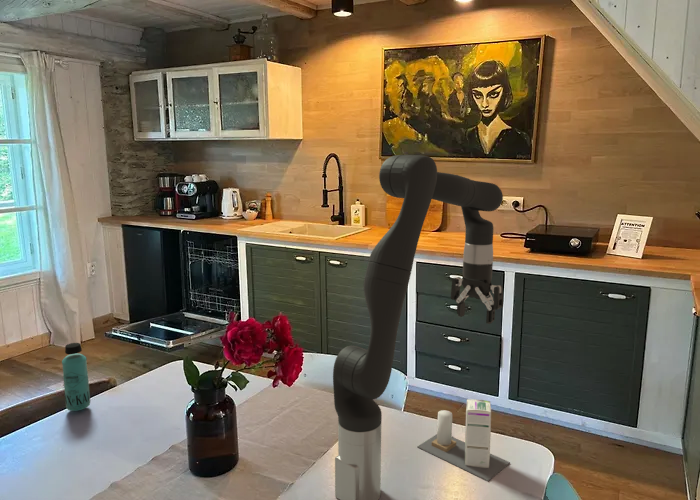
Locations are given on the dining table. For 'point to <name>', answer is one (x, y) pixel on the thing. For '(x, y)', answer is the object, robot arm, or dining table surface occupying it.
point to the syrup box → (477, 433)
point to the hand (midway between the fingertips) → (475, 319)
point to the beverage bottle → (75, 378)
